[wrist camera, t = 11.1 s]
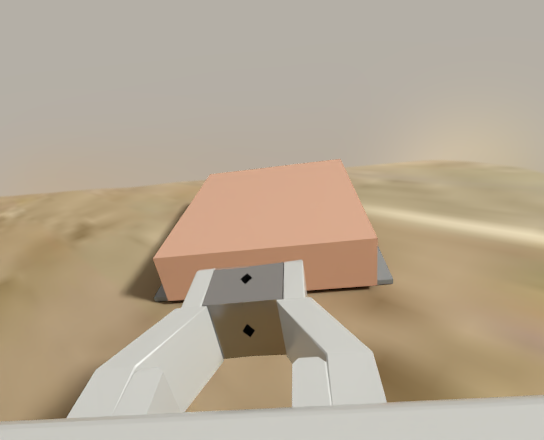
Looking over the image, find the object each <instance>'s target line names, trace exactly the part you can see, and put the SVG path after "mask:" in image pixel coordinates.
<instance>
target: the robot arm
mask: <svg viewBox="0 0 544 440" xmlns="http://www.w3.org/2000/svg"><path fill="white" fill-rule="evenodd" d="M269 355H287V357H288V358H289V360H290V361H291V363H292V407H285V408H265V409H244V410H224V411H203V412H185V411H186V409H187V408H188V407H189V405H190V404H191V403H192V401H193V400H194V399H195V398H196V396H197V395H198V394H199V392H200V391H201V390H202V389H203V387H204V386H205V385H206V383H207V382H208V381H209V379H210V378H211V377H212V376H213V374H214V373H215V372H216V370H217V369H218V368H219V367H220V365H221V364H222V363H223V361H224V360H223V359H229V358H240V357H250V356H269ZM0 440H544V395H530V396H510V397H489V398H469V399H448V400H428V401H408V402H387V401H386V398H385V394H384V391H383V387H382V383H381V380H380V376H379V373H378V369H377V366H376V362H375V358H374V355H373V352H372V351H371V350H370V349H369V348H368V347H366V346H365V345H364V344H363V343H362V342H361V341H360V340H359V339H357V338H356V337H355V336H354V335H353V334H352V333H351V332H349V331H348V330H347V329H346V328H345V327H344V326H343V325H342V324H340V323H339V322H338V321H337V320H336V319H335V318H334V317H333V316H331V315H330V314H329V313H328V312H327V311H326V310H325V309H323V308H322V307H321V306H320V305H319V304H318V303H317V302H316V301H314V300H313V299H312V298H311V297H307V289H306V281H305V273H304V265H303V261H302V259H301V260H294V261H287V262H281V263H272V264H264V265H255V266H239V267H226V268H216V269H215V268H213V269H204V270H199V271H197V272H196V274H195V276H194V279H193V281H192V283H191V286H190V288H189V290H188V293H187V295H186V297H185V300H184V302H183V304H182V307H181V308H178V309H175V310H173V311H172V312H171V313H169V314H168V315H167V316H165V317H164V318H163V319H162V320H160V321H159V322H158V323H156V324H155V325H154V326H152V327H151V328H150V329H148V330H147V331H146V332H145V333H143V334H142V335H141V336H139V337H138V338H137V339H135V340H134V341H133V342H132V343H130V344H129V345H128V346H126V347H125V348H124V349H122V350H121V351H120V352H118V353H117V354H116V355H115V356H113V357H112V358H111V359H109V360H108V361H107V362H105V363H104V364H103V365H101V366H100V367H99V368H98V369H96V371H95V372H94V374H93V375H92V377H91V379H90V380H89V382H88V384H87V385H86V387H85V388H84V390H83V392H82V393H81V395H80V397H79V398H78V400H77V401H76V403H75V405H74V406H73V408H72V410H71V411H70V413H69V414H68V416H67V418H62V419H42V420H21V421H1V422H0Z"/></svg>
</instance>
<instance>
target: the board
mask: <svg viewBox="0 0 544 440" xmlns="http://www.w3.org/2000/svg"><path fill="white" fill-rule="evenodd" d="M377 246H378V238H377V236H376V234H375V232H374V229H373V227H372V225H371V223H370V221H369V219H368V217H367V215H366V212H365V210H364V208H363V206H362V204H361V202H360V200H359V198H358V195H357V193H356V191H355V189H354V187H353V185H352V183H351V180H350V178H349V176H348V174H347V172H346V170H345V168H344V166H343V164H342V161H341V159H336V160H327V161H319V162H310V163H303V164H294V165H285V166H276V167H268V168H260V169H251V170H243V171H234V172H226V173H218V174H210V175H209V177H208V178H207V180H206V181H205V183H204V184H203V186H202V187H201V188H200V190H199V191H198V193H197V194H196V196H195V197H194V199H193V200H192V202H191V203H190V205H189V206H188V208H187V209H186V211H185V212H184V213H183V215H182V216H181V218H180V219H179V221H178V222H177V224H176V225H175V227H174V228H173V230H172V231H171V233H170V234H169V236H168V237H167V238H166V240H165V241H164V243H163V244H162V246H161V247H160V249H159V250H158V252H157V253H156V255H155V256H154V258H153V260H154V263H155V266H156V269H157V271H158V274H159V277H160V280H161V282H162V285H163V288H164V291H165V293H166V296H167V299H168V301H174V300H185V297H186V295H187V293H188V290H189V288H190V286H191V283H192V281H193V279H194V276H195V274H196V272H197V271H199V270H204V269H213V268H215V269H216V268H226V267H239V266H255V265H264V264H272V263H281V262H287V261H294V260H301V259H302V261H303V265H304V273H305V281H306V289H307V290H321V289H334V288H347V287H361V286H374V285H377Z"/></svg>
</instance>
